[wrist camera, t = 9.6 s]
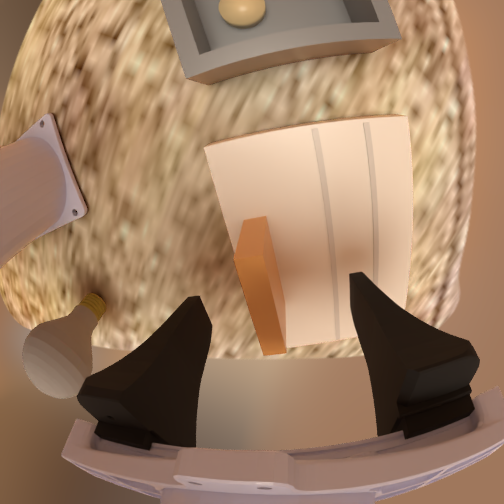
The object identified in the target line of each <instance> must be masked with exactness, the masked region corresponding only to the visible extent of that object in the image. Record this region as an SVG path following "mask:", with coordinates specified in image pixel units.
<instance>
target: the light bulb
mask: <svg viewBox="0 0 504 504" xmlns="http://www.w3.org/2000/svg"><path fill="white" fill-rule="evenodd" d="M105 311H106V305H105V303H104V301H103V300H102V298H101V297H99V296H98V295H96V294H94V293H89V294H87V295H86V296H85V298H84V299H83V300H82V301H81V303H80V304H79V305H77V306H76V307H75V308H74V310H73V311H72V312H71V313H70V314H69V315H68V316H65V317H62V318H59V319H55V320H51V321H47V322H44V323H42V324H39V325H38V326H37V327H35V328H34V329H33V330H32V331H31V332H30V333H29V335H28V336H27V338H26V340H25V343H24V346H23V353H22V358H23V365H24V368H25V371H26V373H27V375H28V377H29V378H30V380H31V381H32V383H33V384H34V385H35V386H36V387H37V388H38V389H39V390H40V391H42V392H43V393H45V394H47V395H50V396H52V397H54V398H61V399H63V398H69V397H73V396H75V395H77V394H78V393H79V391H80V389H81V387H82V385H83V383H84V381H85V379H86V377H88V376H91V372H92V347H91V335H92V332H93V330H94V329H95V327H96V326H97V324H98V321H99V320H100V318H101V317H102V315H103V313H104V312H105Z"/></svg>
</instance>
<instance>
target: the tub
mask: <svg viewBox="0 0 504 504" xmlns="http://www.w3.org/2000/svg"><path fill="white" fill-rule="evenodd" d="M161 2H162V5H163V9H164V12H165V15H166V18H167V21H168V24H169V27H170V31H171V34H172V37H173V40H174V43H175V46H176V49H177V52H178V55H179V58H180V61H181V65H182V68H183V71H184V74H185V77H186V79H189V80H193V81H196V82H200V83H203V84H206V85H211V84H214V83H217V82H220V81H223V80H226V79H229V78H233V77H236V76H240V75H243V74H247V73H250V72H254V71H258V70H262V69H266V68H270V67H274V66H279V65H284V64H288V63H293V62H299V61H304V60H310V59H316V58H323V57H330V56H338V55H347V54H358V53H372V52H374V51H376V50H378V49H380V48H382V47H385V46H387V45H389V44H391V43H393V42H396V41H398V40H400V39H402V38H401V35H400V32H399V29H398V26H397V23H396V21H395V18H394V15H393V13H392V10H391V8H390V5H389V3H388V1H387V0H161Z"/></svg>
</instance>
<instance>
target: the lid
mask: <svg viewBox="0 0 504 504" xmlns="http://www.w3.org/2000/svg"><path fill="white" fill-rule="evenodd" d="M204 150H205V154H206V158H207V161H208V165H209V168H210V172H211V175H212V179H213V182H214V186H215V189H216V193H217V196H218V200H219V203H220V207H221V210H222V213H223V217H224V220H225V224H226V227H227V230H228V234H229V237H230V241H231V244H232V247H233V251H234V254H235V255H234V259H233V260H234V263H235V267H236V270H237V273H238V276H239V280H240V283H241V286H242V289H243V292H244V296H245V299H246V302H247V305H248V308H249V311H250V315H251V318H252V321H253V324H254V327H255V330H256V333H257V336H258V339H259V342H260V346H261V349H262V352H263V355H274V354H283V353H286V348H290V347H297V346H305V345H312V344H319V343H325V342H331V341H337V340H343V339H349V338H354V337H358V335H357V332H356V329H355V327H354V323H353V318H352V314H351V309H350V284H349V274H350V273H356V272H361V271H362V272H363V273H364V274H365V275H366V276H367V277H368V278H369V279H370V280H371V281H372V282H373V283H374V284H375V285H376V286H377V287H378V288H379V289H380V290H381V291H383V292H384V293H385V294H386V295H387V296H388V297H389V298H390V299H392V300H393V301H394V302H395V303H396V304H398V305H399V306H400V307H401V308H403V309H404V310H405V305H406V298H407V291H408V283H409V274H410V263H411V250H412V233H413V173H412V156H411V143H410V133H409V124H408V116H403V115H396V114H392V115H375V116H362V117H351V118H342V119H333V120H325V121H318V122H311V123H304V124H298V125H292V126H286V127H280V128H275V129H270V130H265V131H260V132H255V133H250V134H246V135H241V136H237V137H233V138H229V139H224V140H220V141H217V142H213V143H210V144H208V145H207V146H205V147H204Z"/></svg>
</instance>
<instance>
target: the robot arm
mask: <svg viewBox="0 0 504 504" xmlns="http://www.w3.org/2000/svg"><path fill="white" fill-rule="evenodd" d="M43 123H44V124H43ZM75 210H76V211H77V213H78V214H77V213H76V211H75ZM86 213H87V206H86V204H85V202H84V199H83V197H82V195H81V192H80V190H79V187H78V185H77V183H76V180H75V177H74V175H73V172H72V170H71V167H70V164H69V162H68V159H67V156H66V153H65V150H64V148H63V145H62V142H61V139H60V135H59V132H58V129H57V126H56V123H55V119H54V116H53V114H52V113H47V114H45V115H44V116H43V117H41V118H40V119H39V120H38V121H37V122H36V123H35V124H33V125H32V126H31V127H30V128H29V129H28V130H27V131H26V132H25V133H24V134H23V135H22V136H21V137H20V138H19V139H18V140H16V141H15V142H13V143H11V144H8V145H5V146H2V147H0V268H1V267H2V266H4V265H5V264H6V263H7V262H8V261H9V260H10V259H11V258H13V257H14V256H15V255H16V254H17V253H18V252H19V251H21V250H22V249H23V248H24V247H25V246H27V245H28V244H29V243H30V242H32V241H33V240H35V239H37V238H39V237H41V236H43V235H45V234H47V233H49V232H51V231H53V230H55V229H57V228H59V227H61V226H63V225H65V224H68V223H70V222H72V221H74V220H76V219H78V218H81V217H83V216H84V215H85V214H86ZM349 284H350V309H351V314H352V318H353V323H354V327H355V329H356V332H357V335H358V338H359V341H360V344H361V347H362V350H363V353H364V356H365V359H366V362H367V366H368V370H369V375H370V381H371V386H372V392H373V399H374V406H375V414H376V423H377V435H378V437H375V438H370V439H365V440H361V441H355V442H350V443H344V444H338V445H331V446H324V447H316V448H307V449H296V450H279V451H269V450H267V451H266V450H224V449H207V448H196V418H197V407H198V397H199V388H200V383H201V378H202V374H203V371H204V366H205V363H206V359H207V355H208V351H209V347H210V343H211V334H212V323H211V321H210V319H209V317H208V314H207V312H206V310H205V307H204V305H203V303H202V300H201V298H200V296H193V297H188V298H187V299H186V300H185V301H184V302H183V303H182V304H181V305H180V306H179V307H178V308H177V309H176V310H175V312H174V313H173V314H172V315H171V316H170V317H169V318H168V319H167V320H166V321H165V322H164V323H163V324H162V325H161V326H160V327H159V328H158V329H157V330H156V331H155V332H154V333H153V334H152V335H151V336H150V337H149V338H148V339H147V340H146V341H145V342H144V343H142V344H141V345H140V346H139V347H138V348H136V349H135V350H134V351H132V352H131V353H130V354H128V355H127V356H125V357H124V358H123V359H121V360H119V361H118V362H116V363H114V364H113V365H111V366H109V367H107V368H105V369H104V370H102V371H100V372H98V373H95V374H93V375H91V376H88V377H86V379H85V381H84V383H83V385H82V387H81V389H80V391H79V393H78V395H77V399H78V401H79V403H80V404H81V405H82V406H83V407H84V408H85V409H86V410H87V411H88V412H89V413H90V414H91V415H92V416H94V417H95V418H96V419H97V420H98V424H97V425H95V424H93V423H91V422H88V421H84V420H81V419H76V421H75V423H74V425H73V428H72V430H71V433H70V435H69V437H68V439H67V442H66V444H65V447H64V449H63V452H62V454H61V455H62V457H63V458H65V459H66V460H68V461H70V462H71V463H73V464H74V465H76V466H78V467H79V468H81V469H83V470H85V471H86V472H88V473H90V474H92V475H94V476H96V477H99V478H101V479H104V480H106V481H109V482H111V483H114V484H117V485H119V486H122V487H125V488H128V489H131V490H134V491H137V492H140V493H143V494H146V495H150V496H153V497H156V498H160V499H161V501H160V504H375V501H379V500H383V499H386V498H390V497H393V496H396V495H399V494H403V493H406V492H409V491H412V490H415V489H417V488H420V487H423V486H425V485H428V484H430V483H433V482H435V481H438V480H440V479H442V478H445V477H447V476H449V475H451V474H454V473H455V472H458V471H460V470H462V469H464V468H466V467H468V466H470V465H472V464H474V463H476V462H478V461H480V460H482V459H484V458H485V457H487V456H489V455H490V454H491V453H493V452H494V451H495V450H497V449H498V448H499V447H500V446H502V445H503V444H504V398H503V396H502V393H501V391H500V389H499V387H498V386H496V387H494V388H492V389H490V390H488V391H486V392H484V393H481V394H480V395H478V396H476V397H475V398H474V399H473V400H472V399H471V397H470V393H471V391H472V390H471V387H470V385H469V383H470V381H471V380H472V378H473V376H474V375H475V373H476V371H477V369H478V367H479V363H480V359H479V358H478V356H477V354H476V351H475V350H474V348H473V346H472V345H471V343H470V342H469V341H468V340H465V339H462V338H459V337H456V336H453V335H450V334H448V333H445V332H443V331H441V330H438V329H436V328H434V327H432V326H430V325H428V324H427V323H425V322H423V321H421V320H419V319H418V318H416V317H414V316H413V315H411V314H410V313H408V312H407V311H405V310H404V309H403V308H401V307H400V306H399V305H398V304H396V303H395V302H394V301H393V300H392V299H390V298H389V297H388V296H387V295H386V294H385V293H384V292H383V291H381V290H380V289H379V288H378V287H377V286H376V285H375V284H374V283H373V282H372V281H371V280H370V279H369V278H368V277H367V276H366V275H365V274H364V273H363V272H362V271H361V272H356V273H350V274H349Z"/></svg>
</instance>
